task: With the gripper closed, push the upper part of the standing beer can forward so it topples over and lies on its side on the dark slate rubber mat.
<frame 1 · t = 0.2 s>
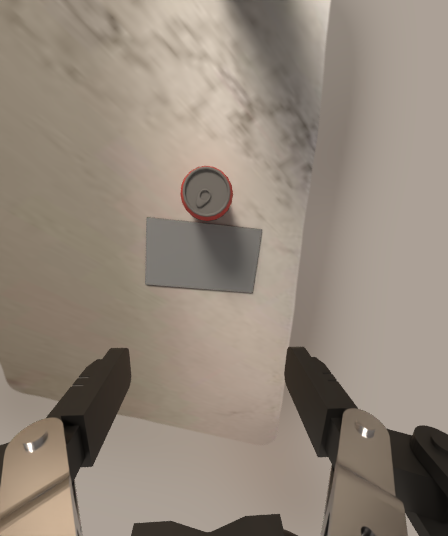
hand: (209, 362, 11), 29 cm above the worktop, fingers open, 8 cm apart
beer can: (207, 199, 36), on the worktop
slate mat: (202, 256, 38), on the worktop
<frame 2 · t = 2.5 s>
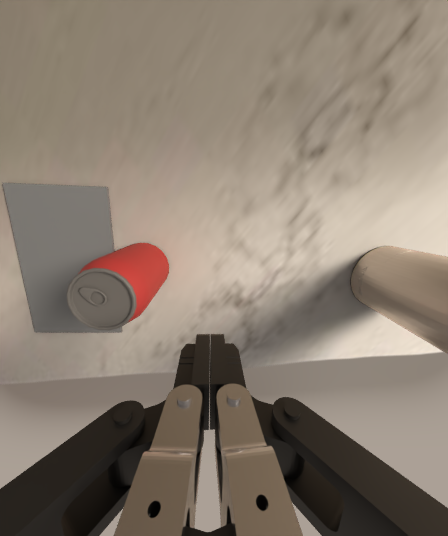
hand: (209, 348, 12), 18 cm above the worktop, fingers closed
beer can: (146, 265, 29), on the worktop
slate mat: (69, 264, 28), on the worktop
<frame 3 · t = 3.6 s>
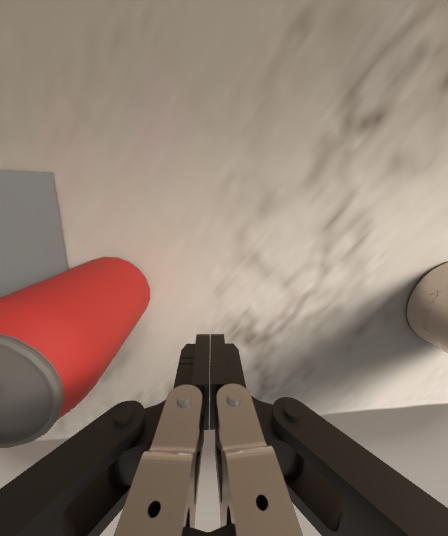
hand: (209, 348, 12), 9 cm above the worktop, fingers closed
beer can: (117, 288, 20), on the worktop
slate mat: (2, 288, 19), on the worktop
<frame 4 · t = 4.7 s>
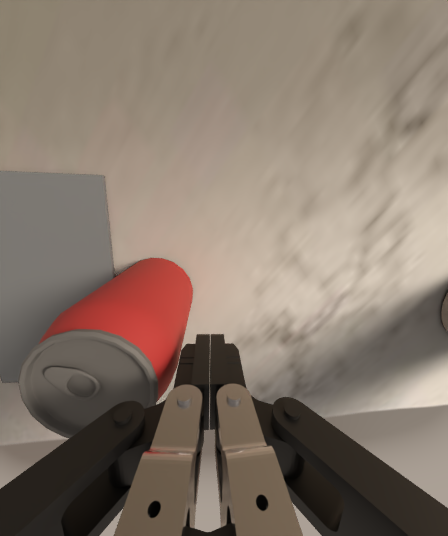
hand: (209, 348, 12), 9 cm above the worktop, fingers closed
beer can: (159, 289, 20), on the worktop, touching gripper
slate mat: (49, 288, 20), on the worktop
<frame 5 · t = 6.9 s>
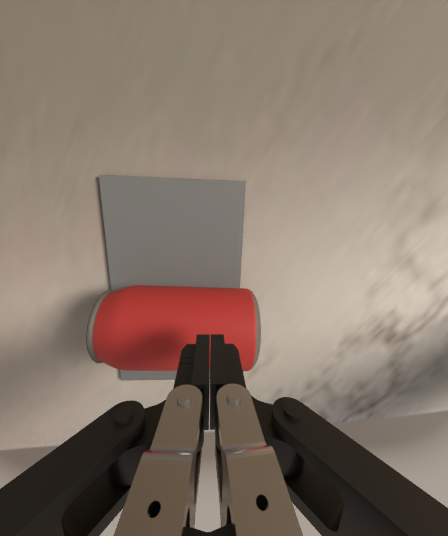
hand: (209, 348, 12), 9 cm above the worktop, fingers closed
beer can: (255, 327, 18), point 4 cm above the worktop, touching slate mat
slate mat: (177, 290, 20), on the worktop
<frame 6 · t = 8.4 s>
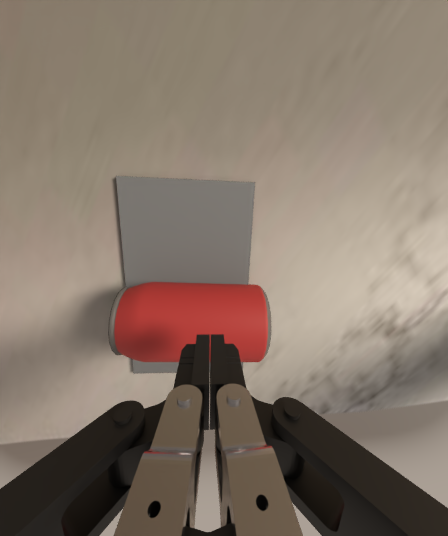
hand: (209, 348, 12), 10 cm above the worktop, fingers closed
beer can: (264, 321, 19), point 4 cm above the worktop, touching slate mat
slate mat: (188, 286, 21), on the worktop
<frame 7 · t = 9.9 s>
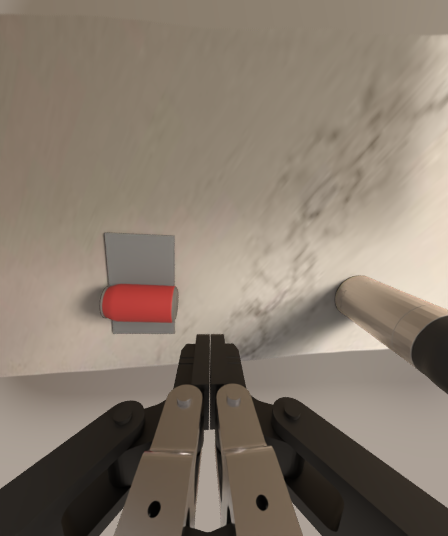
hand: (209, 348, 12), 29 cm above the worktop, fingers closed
beer can: (177, 304, 38), point 4 cm above the worktop, touching slate mat
slate mat: (142, 286, 40), on the worktop
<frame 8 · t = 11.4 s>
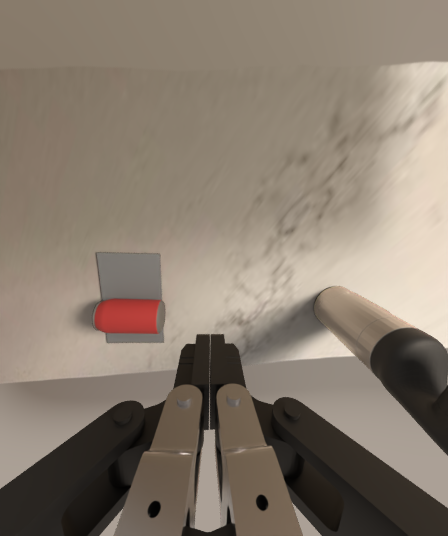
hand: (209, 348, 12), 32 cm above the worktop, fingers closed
beer can: (163, 316, 42), point 4 cm above the worktop, touching slate mat
slate mat: (132, 299, 44), on the worktop
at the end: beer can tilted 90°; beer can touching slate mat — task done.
